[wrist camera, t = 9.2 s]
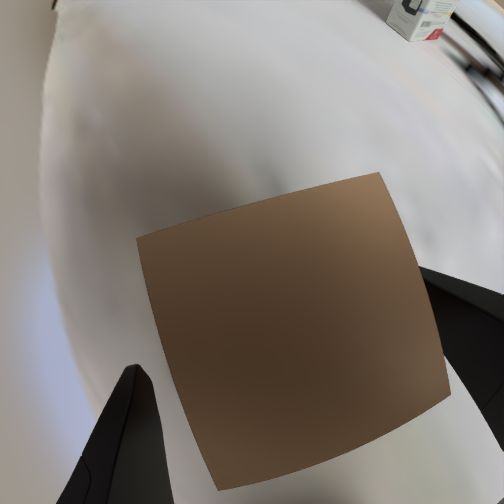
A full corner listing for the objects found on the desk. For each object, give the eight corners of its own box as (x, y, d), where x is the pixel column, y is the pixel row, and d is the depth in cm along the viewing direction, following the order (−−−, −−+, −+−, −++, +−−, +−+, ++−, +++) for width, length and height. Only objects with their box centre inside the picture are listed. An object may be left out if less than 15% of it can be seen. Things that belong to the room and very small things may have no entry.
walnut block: (313, 351, 17) (450, 394, 5) (235, 376, 17) (218, 490, 4) (289, 275, 18) (379, 171, 6) (210, 298, 18) (136, 238, 5)
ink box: (415, 21, 29) (440, -31, 18) (438, 40, 28) (467, -12, 17) (383, 22, 28) (408, -40, 16) (409, 42, 27) (440, -20, 16)
